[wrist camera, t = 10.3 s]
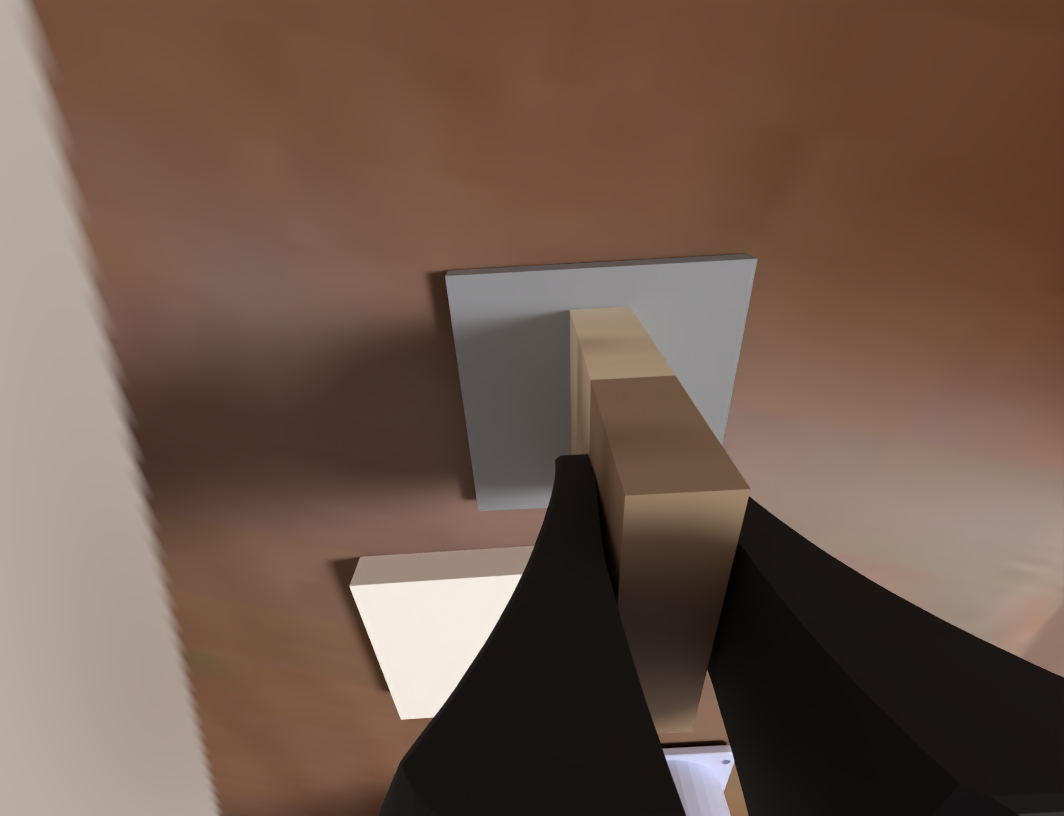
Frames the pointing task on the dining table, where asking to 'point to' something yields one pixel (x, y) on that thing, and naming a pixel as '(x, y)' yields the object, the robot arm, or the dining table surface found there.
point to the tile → (433, 616)
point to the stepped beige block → (655, 505)
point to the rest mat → (544, 353)
